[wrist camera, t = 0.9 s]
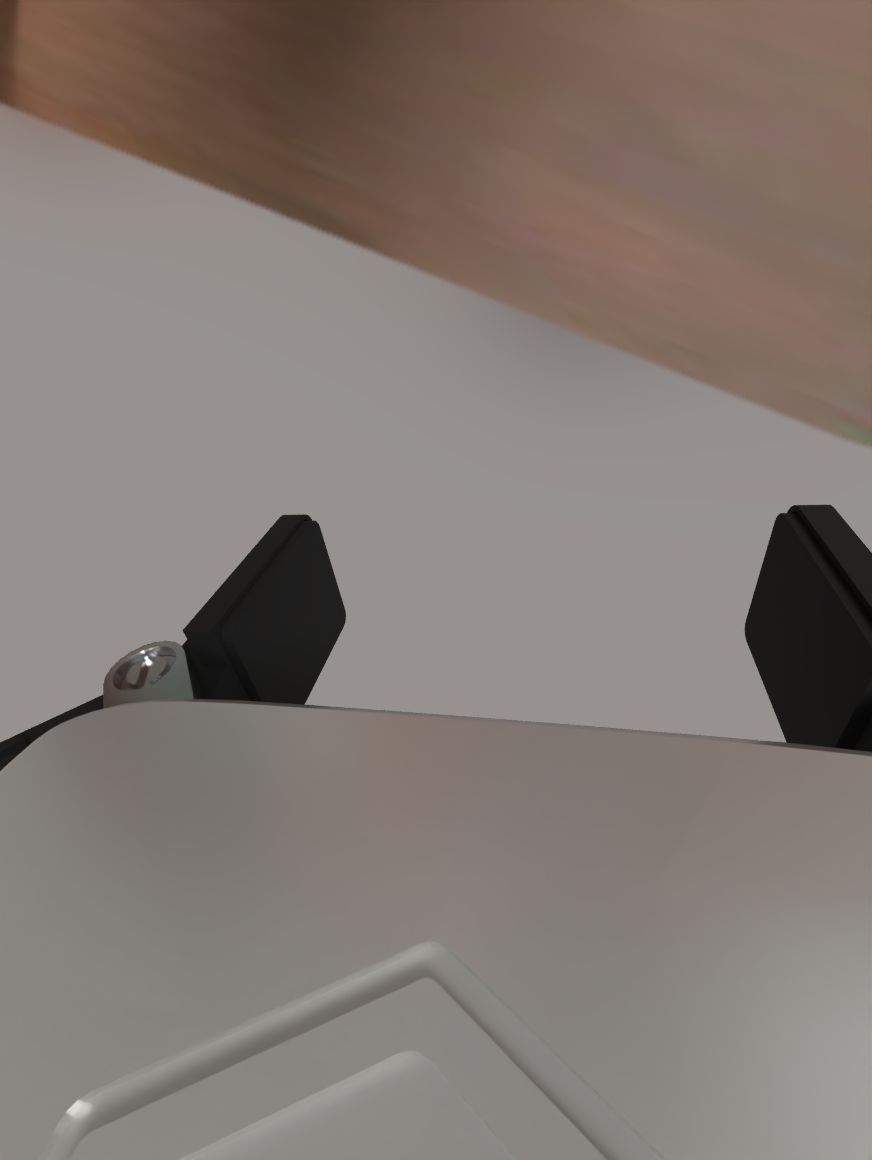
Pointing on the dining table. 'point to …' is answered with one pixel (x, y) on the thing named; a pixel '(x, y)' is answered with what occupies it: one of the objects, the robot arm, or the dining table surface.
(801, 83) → the dining table surface
